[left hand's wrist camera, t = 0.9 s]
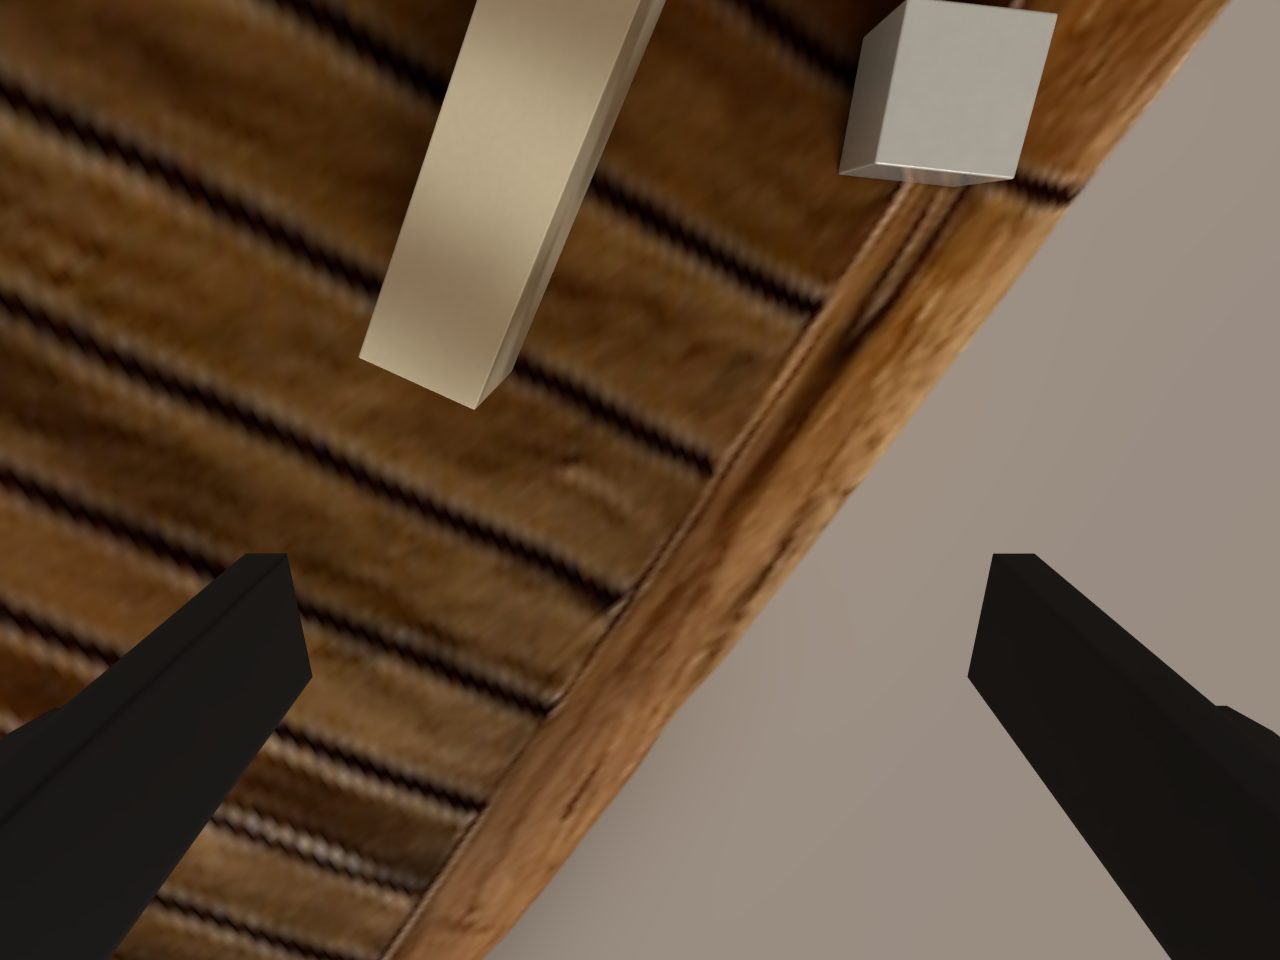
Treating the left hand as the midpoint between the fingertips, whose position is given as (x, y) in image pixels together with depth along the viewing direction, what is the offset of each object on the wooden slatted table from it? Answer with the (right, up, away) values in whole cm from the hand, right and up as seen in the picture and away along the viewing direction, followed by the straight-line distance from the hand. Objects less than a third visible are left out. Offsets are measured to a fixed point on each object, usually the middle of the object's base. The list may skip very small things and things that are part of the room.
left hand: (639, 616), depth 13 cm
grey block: (+11, +18, +15) cm, 25 cm away
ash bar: (-2, +19, +14) cm, 24 cm away
